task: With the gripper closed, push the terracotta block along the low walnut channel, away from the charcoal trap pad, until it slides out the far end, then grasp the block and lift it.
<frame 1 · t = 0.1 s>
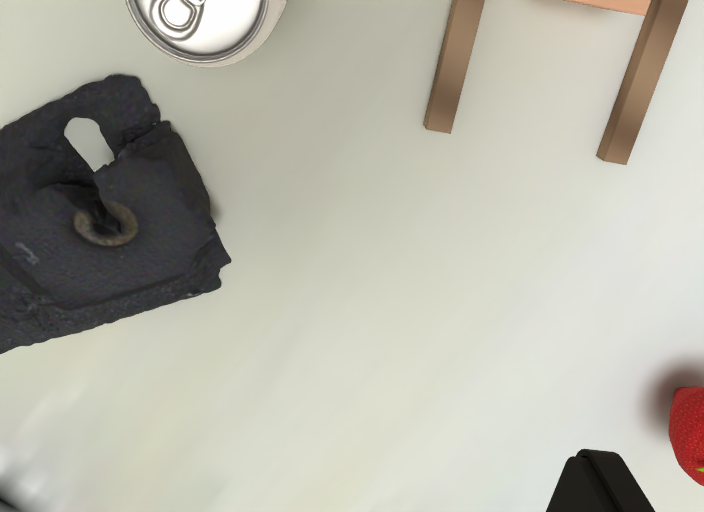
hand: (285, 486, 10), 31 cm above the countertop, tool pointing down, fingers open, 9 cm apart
strawberry: (676, 392, 50), on the countertop
dark slate chunk: (50, 228, 42), on the countertop
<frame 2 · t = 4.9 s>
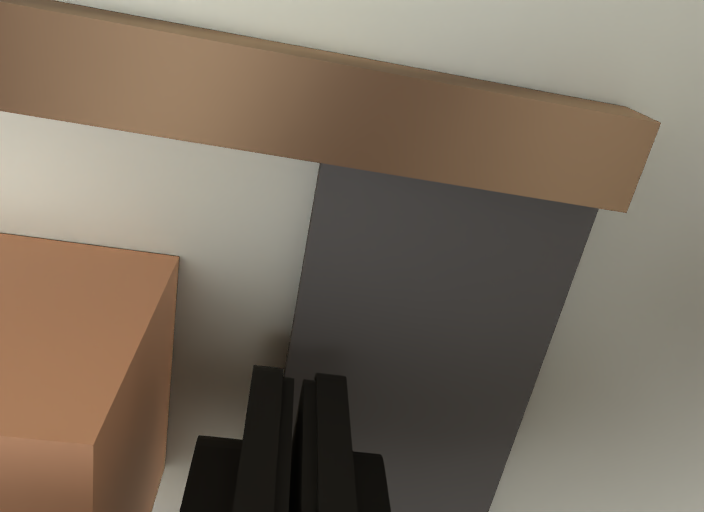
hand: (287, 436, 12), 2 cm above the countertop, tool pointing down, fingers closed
block: (39, 355, 12), on the countertop, touching gripper
channel: (23, 352, 12), on the countertop
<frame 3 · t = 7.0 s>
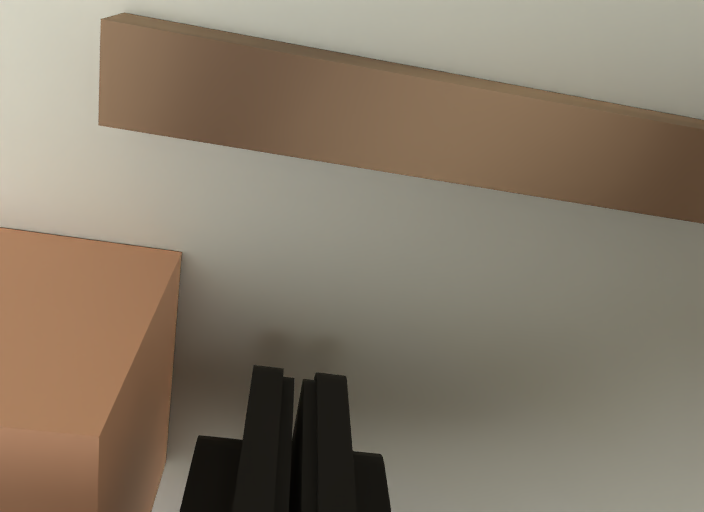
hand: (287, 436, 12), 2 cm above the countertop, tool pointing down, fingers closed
block: (41, 350, 12), on the countertop, touching gripper
channel: (587, 416, 14), on the countertop
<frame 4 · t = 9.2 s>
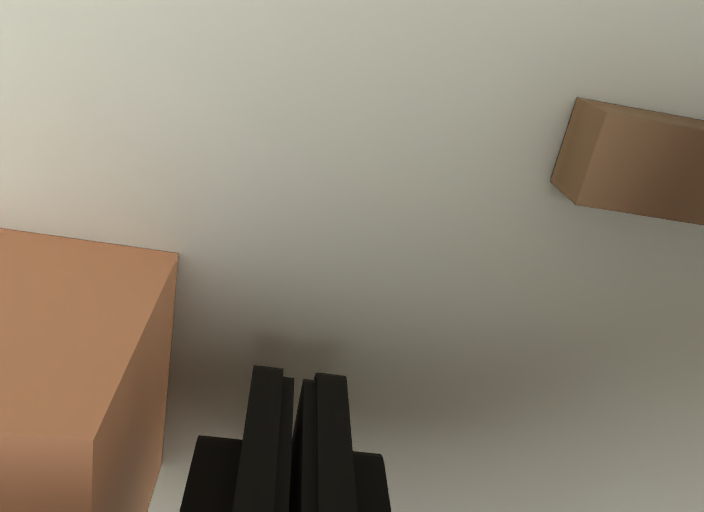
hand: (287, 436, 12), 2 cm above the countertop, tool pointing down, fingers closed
block: (36, 351, 12), on the countertop, touching gripper
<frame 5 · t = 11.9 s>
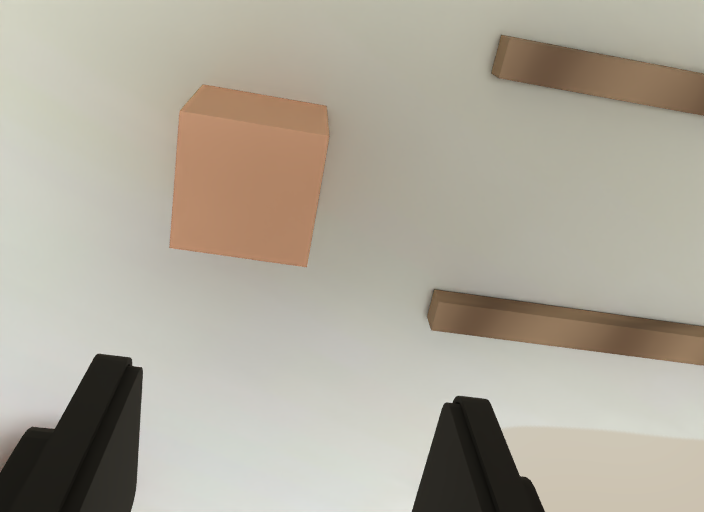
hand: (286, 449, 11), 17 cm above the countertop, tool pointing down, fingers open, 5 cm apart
block: (257, 154, 27), on the countertop
channel: (671, 222, 29), on the countertop
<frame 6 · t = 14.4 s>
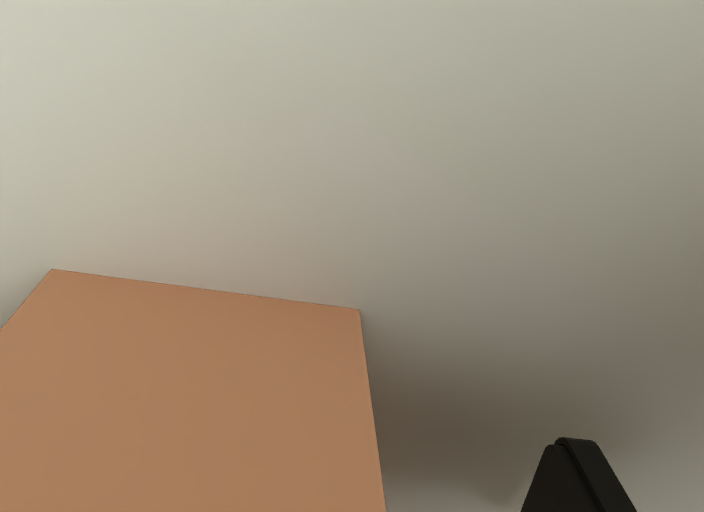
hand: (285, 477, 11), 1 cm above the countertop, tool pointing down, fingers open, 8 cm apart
block: (197, 410, 12), on the countertop, touching gripper
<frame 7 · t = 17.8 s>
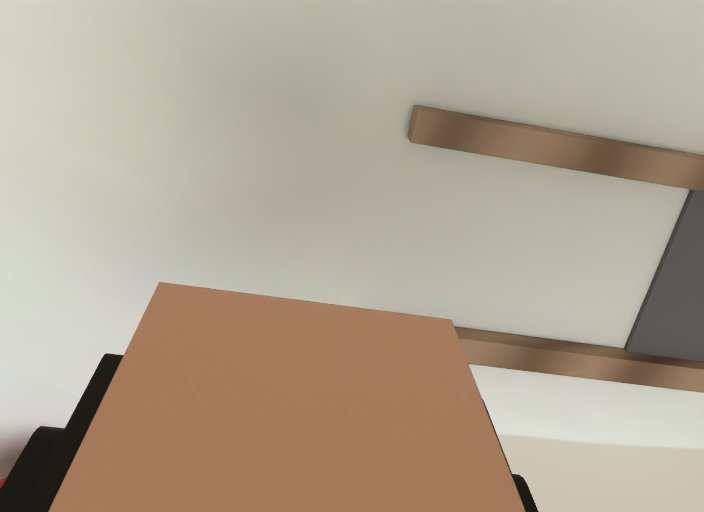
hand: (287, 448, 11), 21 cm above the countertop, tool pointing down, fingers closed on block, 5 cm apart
block: (289, 418, 12), point 20 cm above the countertop, touching gripper
channel: (569, 258, 34), on the countertop
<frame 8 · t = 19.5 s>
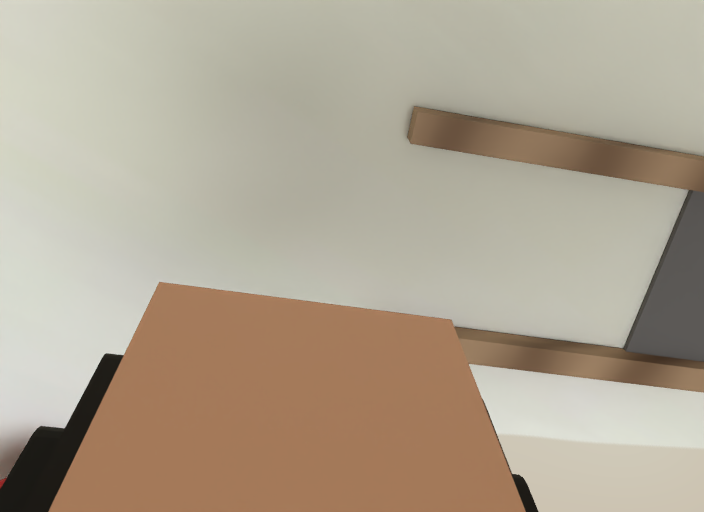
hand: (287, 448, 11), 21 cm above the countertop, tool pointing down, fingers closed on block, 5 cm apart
block: (289, 418, 12), point 21 cm above the countertop, touching gripper
channel: (569, 258, 34), on the countertop
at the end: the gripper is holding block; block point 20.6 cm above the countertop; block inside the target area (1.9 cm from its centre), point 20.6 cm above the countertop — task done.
